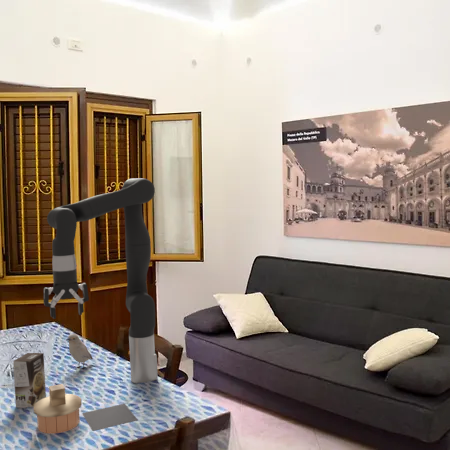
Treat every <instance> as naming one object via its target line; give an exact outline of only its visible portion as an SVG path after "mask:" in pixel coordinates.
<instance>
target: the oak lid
mask: <svg viewBox="0 0 450 450" xmlns="http://www.w3.org/2000/svg"><path fill="white" fill-rule="evenodd" d="M48 391H49V393H48V395H49V396H46V398H43V399H41V400H39V401H38V402H36V403H35V404H34V406H33V413H34V414H35V415H36V416H37V415H38V416H42V417H57V416H63V415H66V414H70V413H72V412H74V411H76V410H78V409H79V410H80V408H81V407H82V398H81V397H80V396H79V395H77V394H73V393H72V394H71V393H66V388H65V386H64V384H63V383H59V384H56V385H49V386H48Z"/></svg>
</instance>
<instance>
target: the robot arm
mask: <svg viewBox="0 0 450 450" xmlns="http://www.w3.org/2000/svg"><path fill="white" fill-rule="evenodd" d="M155 190H156V188H155V186H154V184H153V182H152V181H151V180H150V179H147V178H141V177H139V178H134V177H133V178H128V179H127V180H126V181H124V183H123V185H122V187H121V189H120V190H116V191H112V192H107V193H102V194H97V195H94V196H90V197H88V198H84V199H82V200H80V201H77V202H74V203H69V204H66V205H61V206H58V207H55V208H53V209H51V210H50V211H49V212H48V214H47V217H46V221H47V223H48V225H49V226H50V227H51V228H53V229H55V230H56V233H55V234H56V235H55V237H54V238H53V239H52V243H51V247H52V248H51V249H52V261H51V263H52V264H51V265H52V278H53V279H52V281H53V286H52V287H44V288H43V305H44V307H46V308H49V312H50V317H51V318H52V319H53V320H54V319H55V320H56V318H57V313H56V307H55V306H56V305H57V303H59V301H60V299H61V300H67V299H69V300H70V299H72V298H75V300H77V302H78V303H77V310H78V311H77V312H78V315H79V316H82V315H83V313H84V312H85V310H84V303H87V302H89V289H88V284H87V283H86V282H82V283H80V284H78V272H77V268H78V266H77V258H76V254H75V253H76V251H75V238H76V233H77V232H76V231H77V226H78V225H77V224H78V222H79V223H80V222H87V221H91V220H93V219H96V218H98V217H101V216H103V215H105V214H108V213H111V212H113V211H116V210H119V209H122V208H123V211H124V228H125V229H124V230H125V232H124V234H125V263H126V265H125V267H126V276H127V279H126V280H127V282H126V283H127V284H126V293H125V294H126V295H125V307H126V309H127V311H128V312H129V313H130V314H129V315H130V327H129V328H128V341H129V343H128V344H129V345H128V346H129V358H130V359H129V362H130V381H131V382H132V383H133V384H142V383H143V384H145V383H149V382H154V381H157V380H158V358H157V357H158V356H157V354H156V351H155V350H156V349H155V327H156V307H155V306H156V304H155V301H154V298H153V297H152V296H151V295H149V294H148V284H147V283H148V281H147V276H148V271H149V267H150V262H151V256H152V254H151V253H152V251H151V250H152V249H151V248H152V247H151V236H150V232H149V230H148V227H147V225H146V223H145V220H144V217H143V204H146V203H149V202H150V201H151V200H153V198H154V196H155V193H156V191H155ZM79 289H80V290H81V291H82V297H80V296H79V295H78V294H77V292H78V290H79ZM52 292H53V293H54V294H55V295H54V296H53V297H52V300H50V299H49V298H50V295H51V293H52ZM49 300H50V301H49Z"/></svg>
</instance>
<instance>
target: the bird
mask: <svg viewBox="0 0 450 450" xmlns="http://www.w3.org/2000/svg"><path fill="white" fill-rule="evenodd" d="M65 341H68V350H69V351H68V352H69V354H70V356H71V357H72V358H73V359H74V361H76V362H77V363H78V366H76V367H75V368H76V369H79V370H80V369H81V370H85V368H86V366H85V362H87V361H89V360H91V361H93V359H94V358H93V356H92V354H91V353H90V352H89V349H88V348H87V346H86V344H85V342H83V341H82V340H81V339H80V337H79V336H78V334H76V333H70V334H69V335H68V336H67V338H66V339H65ZM81 363H82V364H83V365H80V364H81Z"/></svg>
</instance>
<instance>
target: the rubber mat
mask: <svg viewBox="0 0 450 450" xmlns="http://www.w3.org/2000/svg"><path fill="white" fill-rule="evenodd" d="M81 413H82V415H83V417H84V419H85V421H86V422H87V424H88V425H89V427H90V429H91V430H92V432H94V431H98V430H102V429H106V428H111V427H114V426H120V425H122V424H127V423H131V422H132V423H133V422H136V421H138V418H137V417H136V415H134V413H133V412H132V411H131V409H130V408H129V407H128V406H127V405H126V403H122V404H116V405H113V406H108V407H103V408H99V409H95V410H91V411H90V410H89V411H86V412H81Z"/></svg>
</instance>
